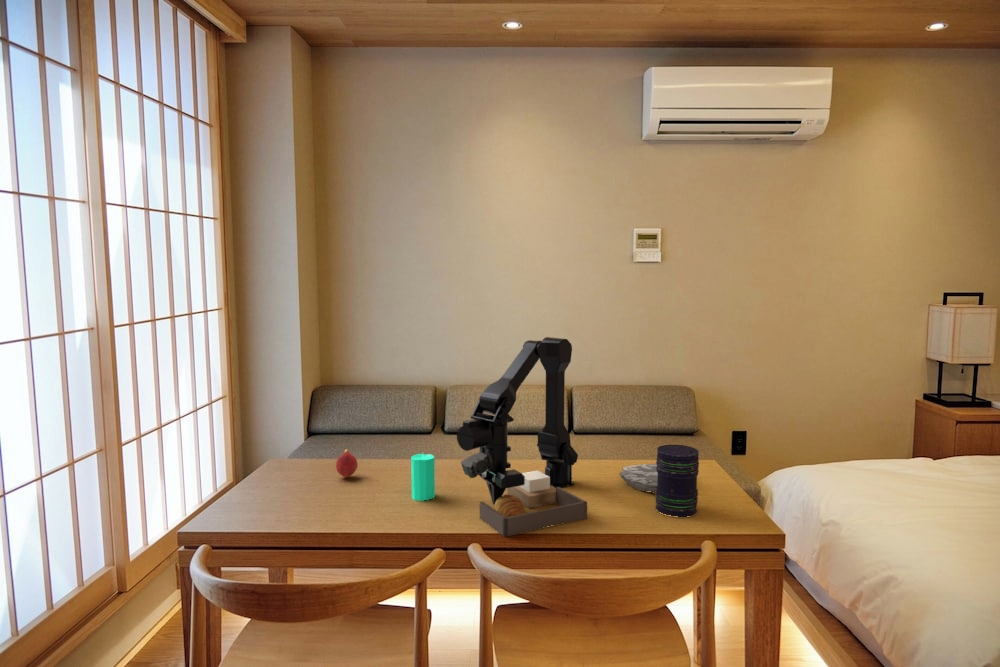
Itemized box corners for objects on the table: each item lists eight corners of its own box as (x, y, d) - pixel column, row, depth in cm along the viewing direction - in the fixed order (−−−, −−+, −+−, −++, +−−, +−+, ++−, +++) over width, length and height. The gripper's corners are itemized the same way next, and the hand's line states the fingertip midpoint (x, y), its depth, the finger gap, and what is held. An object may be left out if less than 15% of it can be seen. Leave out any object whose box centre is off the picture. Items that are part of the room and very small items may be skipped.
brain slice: (627, 470, 195) (627, 460, 195) (687, 477, 189) (688, 467, 189) (612, 492, 177) (612, 481, 177) (679, 500, 171) (679, 489, 171)
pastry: (530, 521, 157) (530, 505, 156) (502, 524, 155) (502, 508, 155) (518, 507, 166) (518, 491, 165) (491, 510, 164) (491, 494, 163)
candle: (431, 501, 170) (430, 454, 168) (408, 499, 171) (407, 453, 169) (438, 493, 175) (437, 448, 174) (416, 492, 177) (415, 447, 175)
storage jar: (652, 514, 161) (653, 453, 159) (658, 501, 170) (659, 442, 168) (695, 520, 157) (697, 457, 156) (699, 506, 166) (701, 446, 165)
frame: (558, 502, 169) (558, 486, 168) (586, 518, 158) (587, 502, 158) (479, 518, 158) (479, 502, 158) (504, 536, 148) (504, 519, 148)
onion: (355, 481, 185) (354, 452, 184) (334, 481, 185) (333, 452, 184) (359, 474, 191) (359, 447, 190) (339, 474, 191) (338, 446, 190)
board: (537, 489, 179) (537, 478, 178) (560, 502, 169) (560, 490, 169) (507, 494, 174) (507, 483, 174) (529, 508, 165) (529, 496, 165)
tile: (537, 481, 176) (537, 470, 175) (549, 488, 170) (549, 476, 170) (517, 485, 173) (517, 473, 172) (529, 492, 167) (529, 480, 167)
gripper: (449, 436, 168) (449, 497, 170) (483, 456, 151) (483, 523, 153) (489, 431, 173) (489, 490, 175) (526, 450, 157) (525, 515, 158)
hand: (495, 504), depth 165 cm, fingers closed
